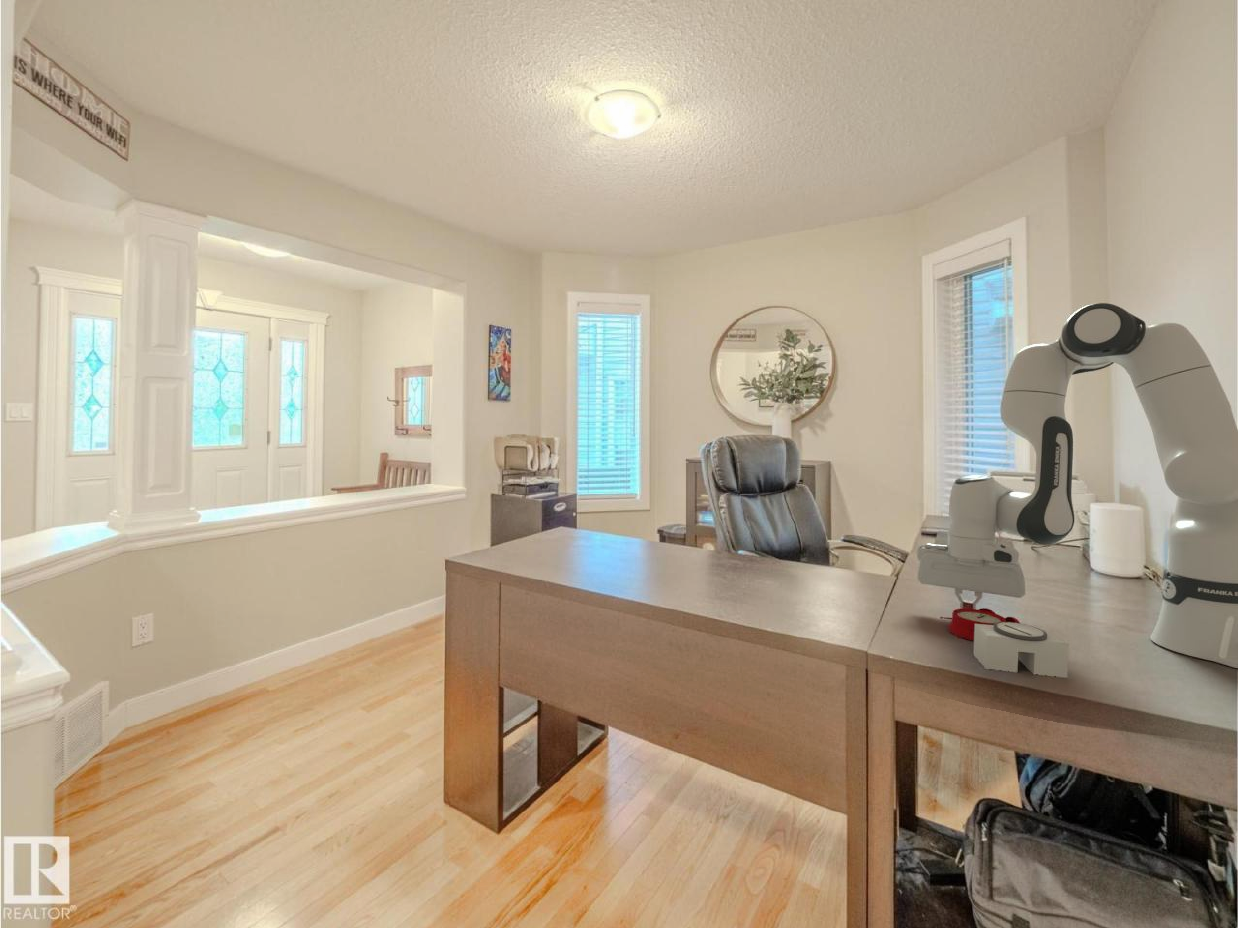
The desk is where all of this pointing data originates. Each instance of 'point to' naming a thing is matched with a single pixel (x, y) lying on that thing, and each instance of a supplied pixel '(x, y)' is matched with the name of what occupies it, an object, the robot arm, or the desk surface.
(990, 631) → the dial gauge
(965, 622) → the alarm clock
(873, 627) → the desk surface
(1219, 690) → the desk surface
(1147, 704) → the desk surface
